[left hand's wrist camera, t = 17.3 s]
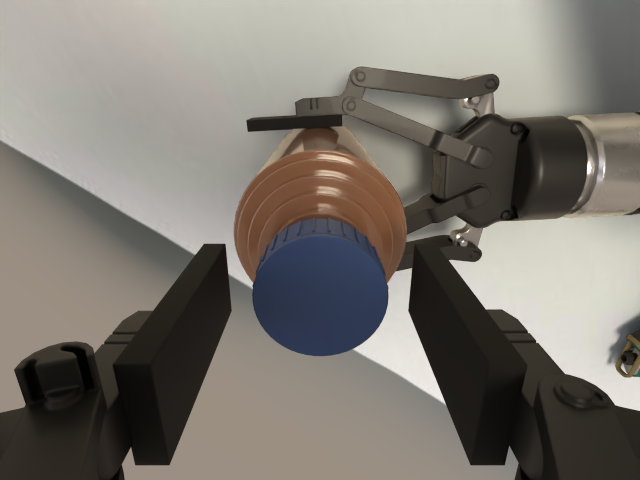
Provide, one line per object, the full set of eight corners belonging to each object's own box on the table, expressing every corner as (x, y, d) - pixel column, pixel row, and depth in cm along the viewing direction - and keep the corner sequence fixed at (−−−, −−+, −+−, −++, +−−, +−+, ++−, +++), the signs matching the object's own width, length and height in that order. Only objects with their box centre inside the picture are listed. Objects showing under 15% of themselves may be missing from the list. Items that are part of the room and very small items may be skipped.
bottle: (275, 118, 34) (191, 170, 12) (367, 121, 34) (457, 178, 12) (276, 207, 37) (209, 384, 15) (361, 209, 37) (423, 390, 15)
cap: (292, 343, 16) (288, 375, 14) (236, 247, 14) (225, 269, 12) (399, 301, 15) (409, 329, 13) (352, 195, 13) (357, 211, 12)
